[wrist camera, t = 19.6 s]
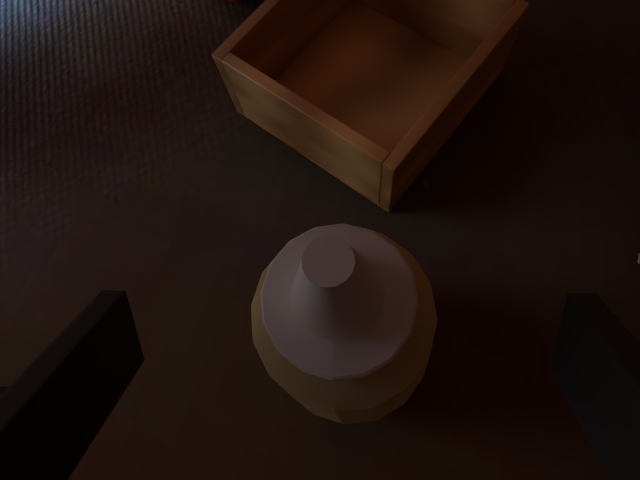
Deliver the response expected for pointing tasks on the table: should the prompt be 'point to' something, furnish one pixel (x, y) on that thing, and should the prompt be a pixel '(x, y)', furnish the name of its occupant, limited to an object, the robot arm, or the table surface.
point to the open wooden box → (367, 79)
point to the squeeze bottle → (345, 322)
